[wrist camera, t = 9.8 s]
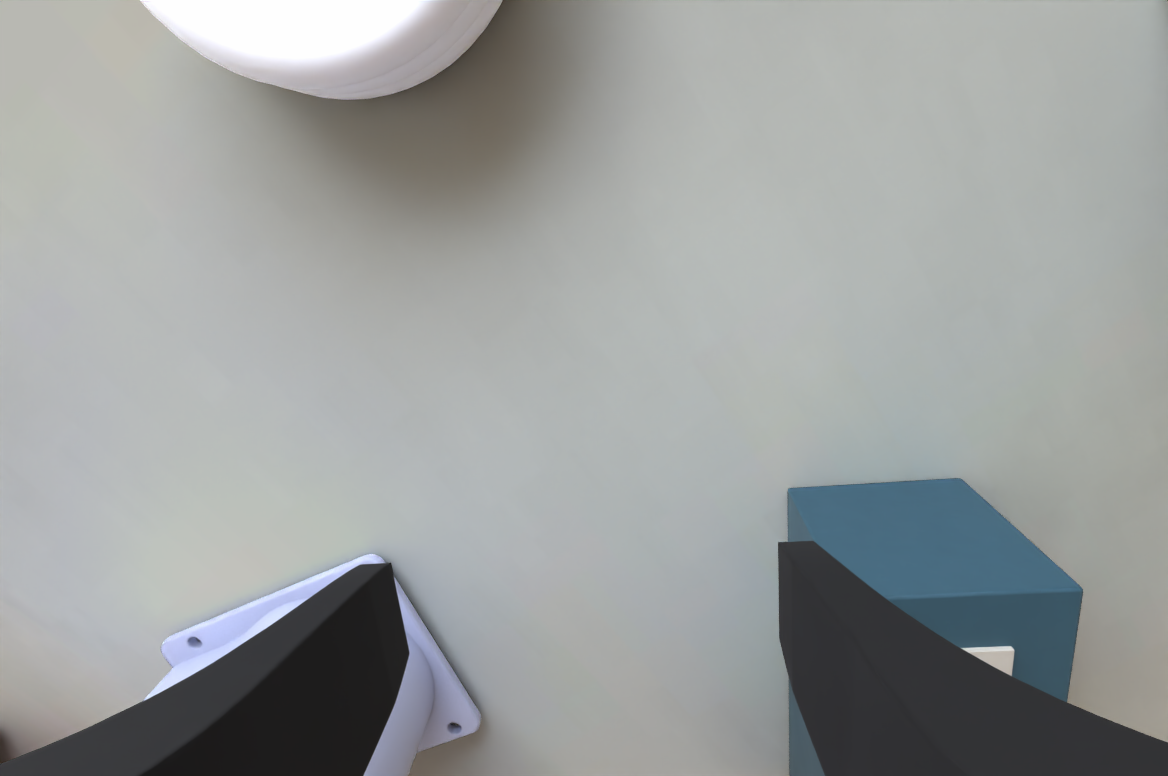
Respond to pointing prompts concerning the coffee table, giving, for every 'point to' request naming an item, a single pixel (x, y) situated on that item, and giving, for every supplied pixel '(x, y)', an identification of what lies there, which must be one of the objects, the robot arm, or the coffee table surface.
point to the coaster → (329, 40)
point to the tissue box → (944, 578)
